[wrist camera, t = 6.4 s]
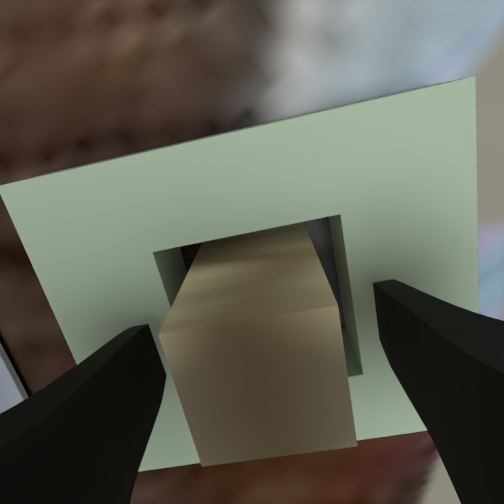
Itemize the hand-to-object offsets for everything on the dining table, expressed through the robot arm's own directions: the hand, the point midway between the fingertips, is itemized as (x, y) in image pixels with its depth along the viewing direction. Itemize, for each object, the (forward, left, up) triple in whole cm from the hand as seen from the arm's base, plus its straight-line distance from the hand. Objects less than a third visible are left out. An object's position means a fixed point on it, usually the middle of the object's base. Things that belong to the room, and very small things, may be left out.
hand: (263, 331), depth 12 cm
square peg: (0, 0, -4) cm, 4 cm away
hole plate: (0, 0, -4) cm, 4 cm away
